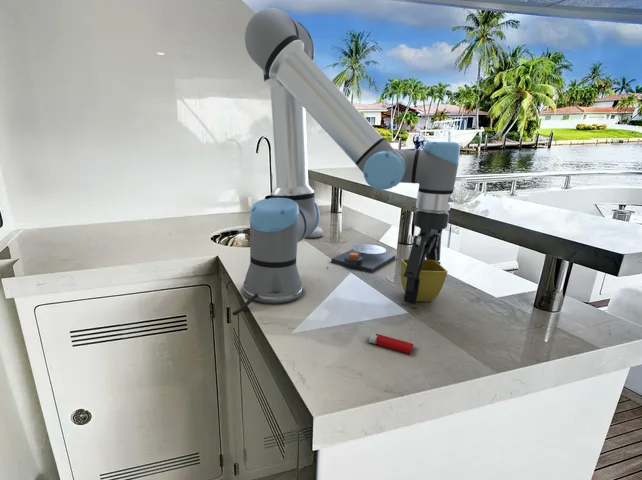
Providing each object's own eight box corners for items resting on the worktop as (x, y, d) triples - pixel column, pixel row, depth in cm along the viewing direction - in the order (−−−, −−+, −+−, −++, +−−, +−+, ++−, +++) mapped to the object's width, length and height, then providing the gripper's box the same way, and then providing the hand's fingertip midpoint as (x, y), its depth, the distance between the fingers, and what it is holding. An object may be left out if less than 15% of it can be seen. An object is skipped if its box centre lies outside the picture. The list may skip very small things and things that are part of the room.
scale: (369, 274, 113) (370, 264, 112) (328, 263, 121) (329, 254, 120) (395, 259, 127) (396, 250, 126) (357, 250, 135) (358, 242, 134)
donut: (308, 231, 160) (292, 235, 153) (308, 223, 159) (293, 226, 152) (327, 236, 154) (312, 240, 147) (328, 227, 153) (313, 231, 146)
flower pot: (442, 305, 93) (448, 271, 90) (406, 304, 93) (411, 270, 90) (428, 291, 101) (434, 259, 98) (395, 290, 101) (400, 258, 98)
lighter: (410, 349, 71) (368, 337, 75) (409, 355, 71) (368, 343, 75) (413, 342, 73) (372, 331, 77) (412, 348, 74) (372, 336, 77)
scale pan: (377, 257, 118) (377, 256, 118) (345, 250, 125) (345, 248, 124) (391, 250, 126) (391, 248, 126) (361, 243, 133) (361, 242, 133)
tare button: (355, 260, 116) (355, 255, 116) (347, 258, 118) (348, 253, 117) (359, 258, 118) (359, 253, 117) (351, 256, 120) (352, 252, 119)
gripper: (432, 220, 78) (417, 315, 85) (462, 206, 96) (447, 285, 103) (397, 215, 83) (385, 306, 90) (432, 202, 100) (420, 279, 107)
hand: (418, 295), depth 96 cm, fingers closed on flower pot, 11 cm apart
